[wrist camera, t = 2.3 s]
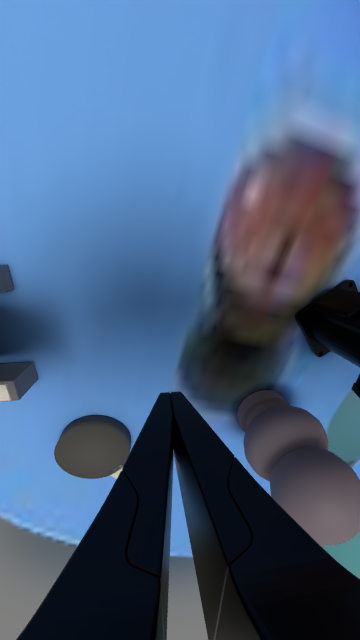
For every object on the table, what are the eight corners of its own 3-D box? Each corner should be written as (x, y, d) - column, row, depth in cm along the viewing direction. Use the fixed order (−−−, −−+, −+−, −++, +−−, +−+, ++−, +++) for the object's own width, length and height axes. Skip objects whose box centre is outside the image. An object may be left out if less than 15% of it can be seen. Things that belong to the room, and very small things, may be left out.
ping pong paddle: (157, 452, 25) (157, 464, 24) (109, 482, 26) (106, 496, 25) (97, 403, 22) (93, 414, 20) (45, 440, 23) (37, 454, 21)
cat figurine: (274, 370, 23) (385, 483, 12) (303, 407, 26) (416, 528, 15) (217, 412, 24) (269, 551, 13) (250, 443, 27) (318, 581, 16)
